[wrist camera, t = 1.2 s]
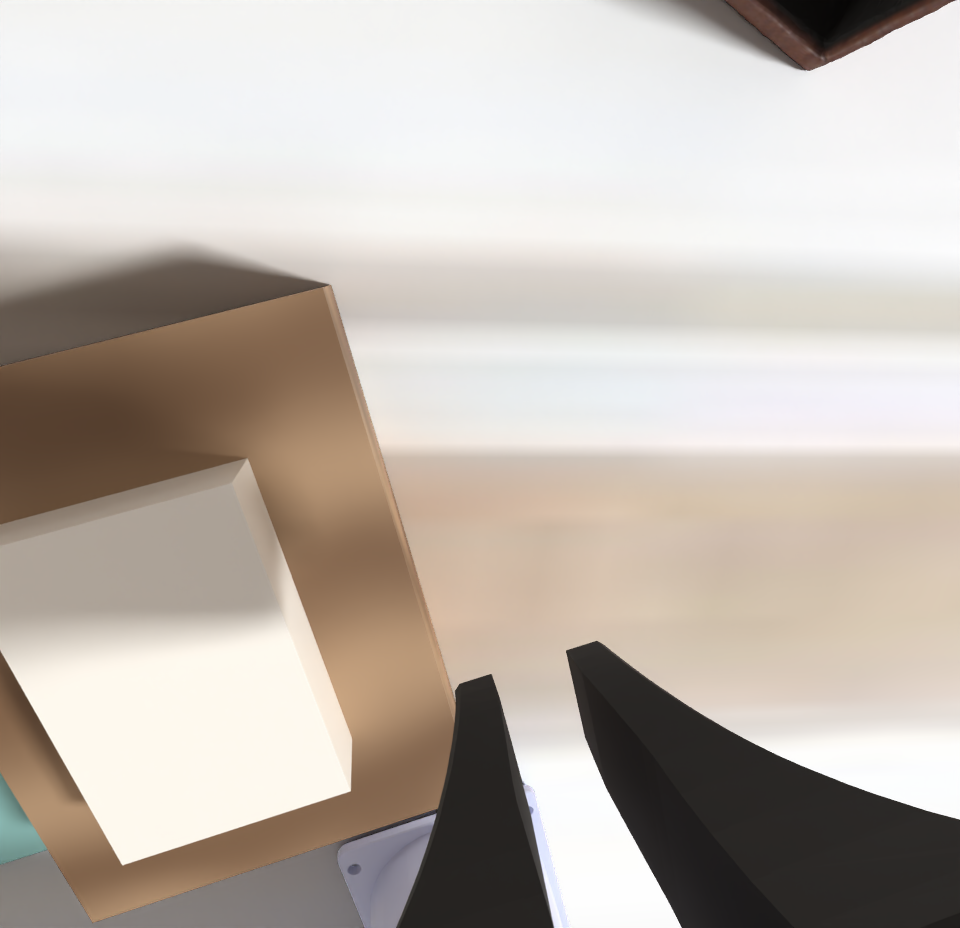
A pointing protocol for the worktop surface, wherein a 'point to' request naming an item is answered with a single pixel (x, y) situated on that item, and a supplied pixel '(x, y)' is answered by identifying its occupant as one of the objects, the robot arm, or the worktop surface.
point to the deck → (301, 534)
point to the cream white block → (172, 660)
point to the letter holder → (829, 24)
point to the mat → (15, 828)
